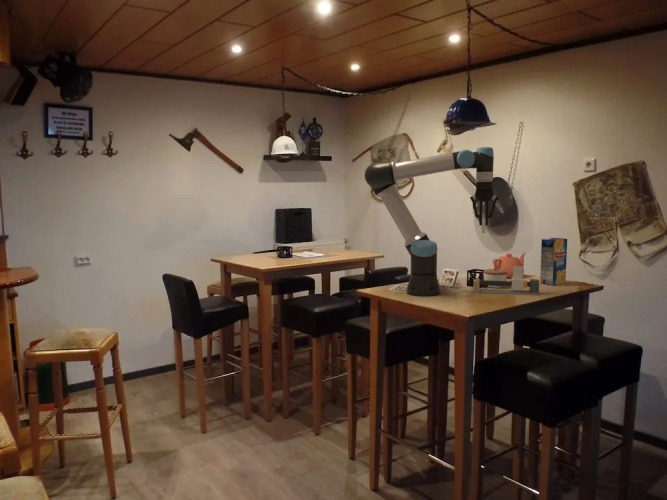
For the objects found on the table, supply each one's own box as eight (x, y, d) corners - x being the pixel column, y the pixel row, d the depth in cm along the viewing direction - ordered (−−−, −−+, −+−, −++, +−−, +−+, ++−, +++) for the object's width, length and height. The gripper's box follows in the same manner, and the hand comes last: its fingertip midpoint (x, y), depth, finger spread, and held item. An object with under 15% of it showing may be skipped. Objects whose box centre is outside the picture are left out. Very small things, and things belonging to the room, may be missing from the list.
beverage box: (540, 283, 260) (541, 239, 257) (552, 281, 266) (554, 237, 263) (552, 285, 254) (554, 240, 251) (565, 283, 260) (567, 238, 258)
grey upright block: (511, 289, 237) (512, 267, 236) (511, 287, 241) (511, 265, 240) (523, 290, 235) (524, 267, 234) (522, 288, 240) (523, 265, 239)
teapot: (515, 272, 293) (515, 250, 292) (535, 277, 280) (536, 253, 278) (483, 276, 284) (484, 253, 283) (503, 280, 271) (504, 256, 269)
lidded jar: (507, 289, 247) (508, 269, 246) (484, 288, 249) (484, 268, 248) (505, 285, 257) (505, 266, 256) (482, 284, 260) (482, 265, 258)
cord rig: (471, 292, 240) (471, 279, 239) (471, 289, 247) (471, 276, 246) (539, 294, 233) (539, 281, 232) (537, 291, 240) (537, 278, 239)
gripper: (469, 181, 241) (468, 233, 244) (499, 181, 238) (498, 233, 241) (469, 181, 248) (468, 231, 251) (498, 181, 245) (497, 232, 248)
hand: (483, 232), depth 246 cm, fingers closed
